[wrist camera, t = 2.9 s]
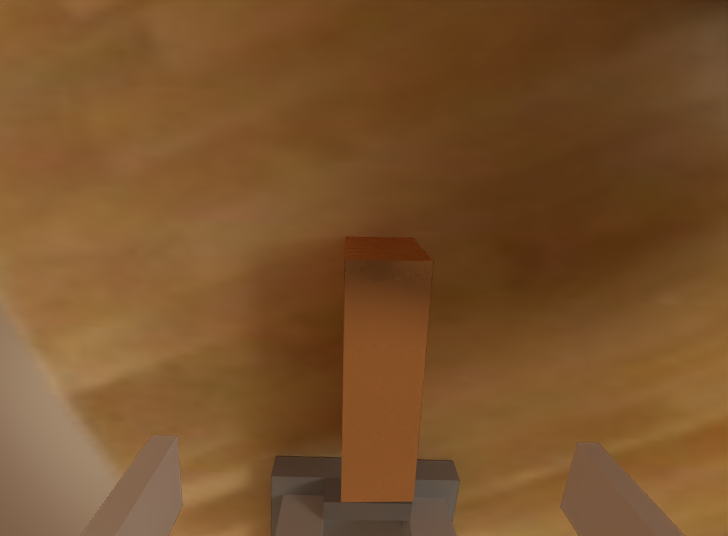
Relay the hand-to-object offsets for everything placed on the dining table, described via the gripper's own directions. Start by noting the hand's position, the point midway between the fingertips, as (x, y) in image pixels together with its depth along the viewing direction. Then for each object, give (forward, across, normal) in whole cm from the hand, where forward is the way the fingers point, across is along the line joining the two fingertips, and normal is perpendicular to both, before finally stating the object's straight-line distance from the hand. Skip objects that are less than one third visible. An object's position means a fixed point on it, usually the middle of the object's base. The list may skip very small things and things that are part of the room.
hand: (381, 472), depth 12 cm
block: (+9, 0, 0) cm, 9 cm away
